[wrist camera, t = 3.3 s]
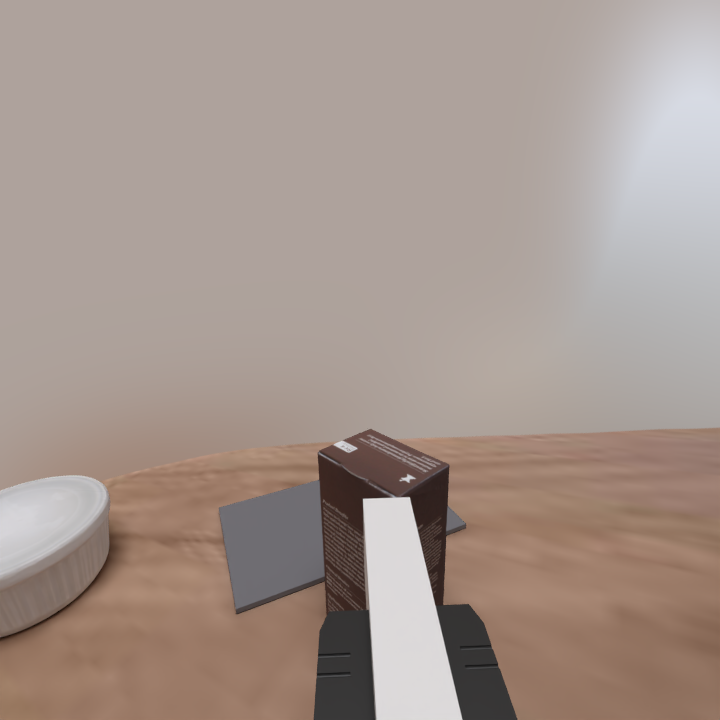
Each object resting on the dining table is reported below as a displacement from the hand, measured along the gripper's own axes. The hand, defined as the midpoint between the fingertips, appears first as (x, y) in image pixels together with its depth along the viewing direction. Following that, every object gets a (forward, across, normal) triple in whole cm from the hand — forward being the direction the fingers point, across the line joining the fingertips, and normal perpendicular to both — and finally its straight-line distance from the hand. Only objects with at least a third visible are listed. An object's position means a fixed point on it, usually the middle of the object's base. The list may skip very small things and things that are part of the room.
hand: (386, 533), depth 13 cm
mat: (+18, -2, -14) cm, 23 cm away
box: (+8, 0, -14) cm, 16 cm away
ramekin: (+13, -24, -14) cm, 31 cm away
